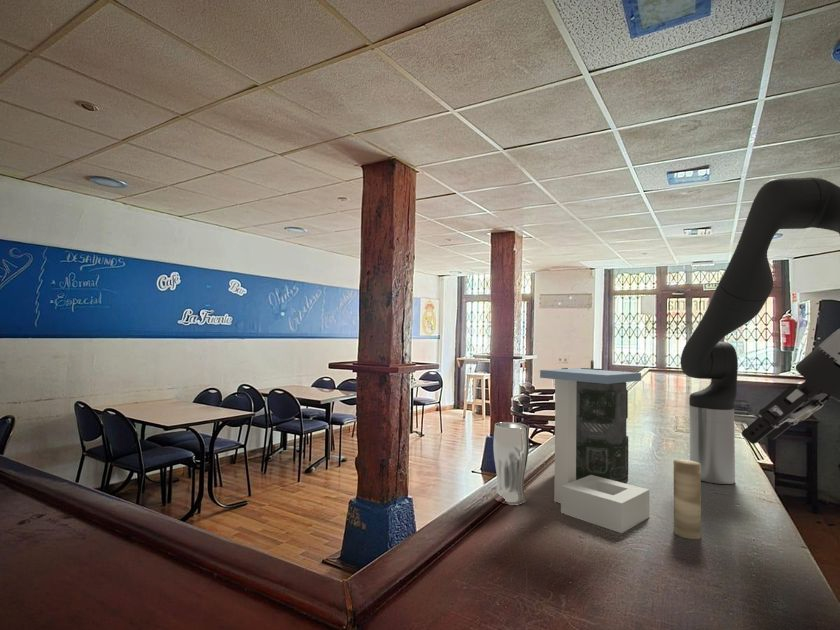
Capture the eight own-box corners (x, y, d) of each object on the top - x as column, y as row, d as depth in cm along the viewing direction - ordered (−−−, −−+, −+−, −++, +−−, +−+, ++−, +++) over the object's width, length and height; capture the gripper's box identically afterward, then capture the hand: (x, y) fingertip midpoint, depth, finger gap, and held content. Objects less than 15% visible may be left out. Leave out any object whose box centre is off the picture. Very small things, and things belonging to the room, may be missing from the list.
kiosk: (618, 535, 76) (618, 376, 77) (538, 508, 87) (540, 370, 89) (652, 515, 85) (651, 373, 86) (575, 493, 96) (576, 368, 98)
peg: (676, 527, 80) (675, 458, 80) (702, 533, 77) (702, 462, 78) (671, 534, 77) (671, 462, 77) (699, 541, 74) (698, 467, 75)
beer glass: (507, 508, 86) (508, 429, 87) (485, 497, 93) (486, 423, 93) (535, 503, 90) (536, 427, 90) (512, 492, 96) (513, 421, 97)
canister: (632, 494, 97) (632, 363, 98) (555, 485, 102) (556, 360, 103) (624, 474, 112) (624, 360, 113) (557, 467, 117) (558, 358, 118)
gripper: (832, 346, 70) (750, 416, 77) (808, 340, 61) (718, 420, 68) (885, 381, 65) (792, 453, 72) (867, 381, 56) (764, 461, 64)
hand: (756, 437), depth 70 cm, fingers open, 8 cm apart
